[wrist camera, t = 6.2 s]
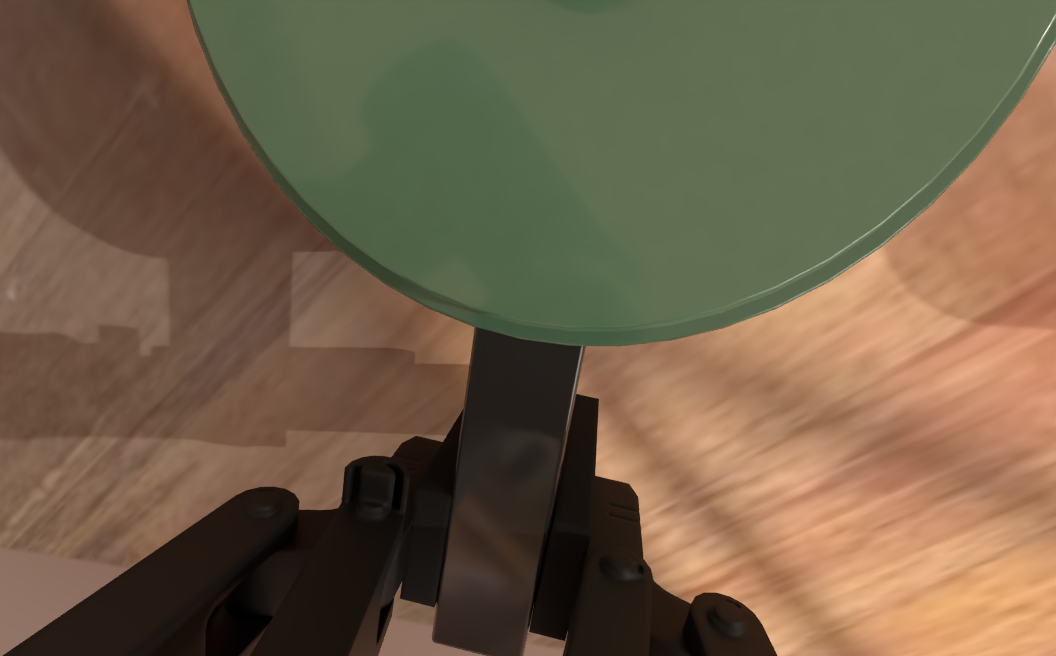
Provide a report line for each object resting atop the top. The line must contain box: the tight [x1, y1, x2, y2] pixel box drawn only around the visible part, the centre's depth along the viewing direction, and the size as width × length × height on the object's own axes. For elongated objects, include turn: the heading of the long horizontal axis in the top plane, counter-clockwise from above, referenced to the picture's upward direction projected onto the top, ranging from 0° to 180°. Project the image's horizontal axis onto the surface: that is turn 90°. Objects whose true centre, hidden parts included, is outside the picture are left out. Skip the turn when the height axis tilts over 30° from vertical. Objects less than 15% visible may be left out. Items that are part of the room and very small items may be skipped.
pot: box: [187, 0, 1056, 656], centre depth 11 cm, size 12×19×11 cm, turn 170°
